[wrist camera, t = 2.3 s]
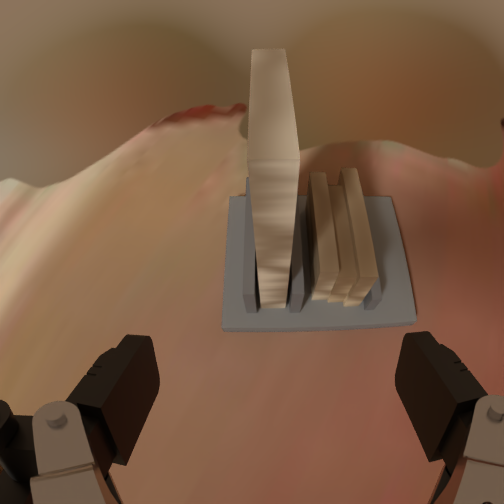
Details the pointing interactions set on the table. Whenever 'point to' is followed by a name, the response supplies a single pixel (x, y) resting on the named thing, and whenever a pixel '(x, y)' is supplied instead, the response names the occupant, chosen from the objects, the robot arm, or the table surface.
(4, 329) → the table surface
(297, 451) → the table surface
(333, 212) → the pine offcuts
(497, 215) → the table surface
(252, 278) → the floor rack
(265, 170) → the birch panel
